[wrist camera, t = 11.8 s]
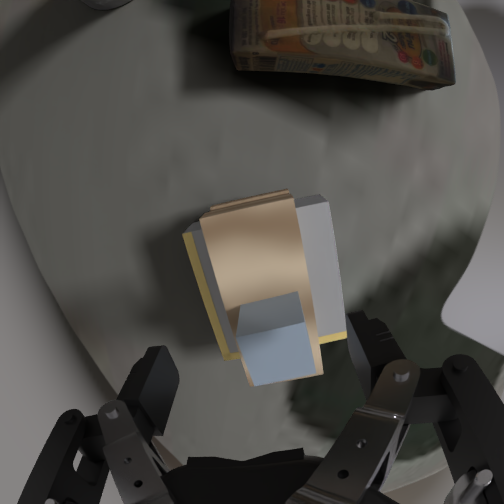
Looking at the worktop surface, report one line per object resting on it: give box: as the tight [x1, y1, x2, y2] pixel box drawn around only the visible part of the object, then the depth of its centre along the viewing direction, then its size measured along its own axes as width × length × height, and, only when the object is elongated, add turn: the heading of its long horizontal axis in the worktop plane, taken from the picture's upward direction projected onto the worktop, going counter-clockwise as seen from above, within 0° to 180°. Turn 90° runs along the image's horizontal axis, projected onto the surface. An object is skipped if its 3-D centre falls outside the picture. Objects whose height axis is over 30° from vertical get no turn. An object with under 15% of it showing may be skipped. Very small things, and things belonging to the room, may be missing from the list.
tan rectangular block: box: [199, 189, 323, 386], centre depth 23 cm, size 14×6×5 cm, turn 13°
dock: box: [182, 194, 347, 361], centre depth 28 cm, size 13×12×4 cm
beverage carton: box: [229, 0, 456, 90], centre depth 19 cm, size 8×19×7 cm, turn 89°
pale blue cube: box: [236, 291, 316, 386], centre depth 19 cm, size 4×4×4 cm
